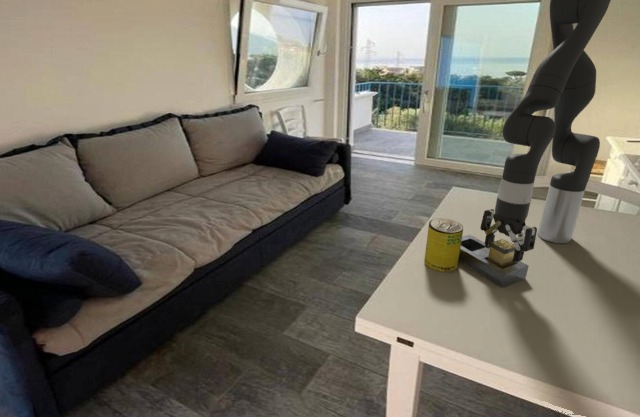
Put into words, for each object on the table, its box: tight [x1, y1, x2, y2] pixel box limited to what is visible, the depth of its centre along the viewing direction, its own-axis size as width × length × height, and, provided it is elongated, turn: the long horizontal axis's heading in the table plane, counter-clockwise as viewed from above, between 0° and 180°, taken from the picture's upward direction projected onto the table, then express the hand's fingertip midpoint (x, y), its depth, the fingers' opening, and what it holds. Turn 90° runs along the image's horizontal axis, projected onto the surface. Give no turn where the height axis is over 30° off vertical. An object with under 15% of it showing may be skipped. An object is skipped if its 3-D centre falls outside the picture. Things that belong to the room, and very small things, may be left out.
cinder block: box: [458, 234, 529, 288], centre depth 105 cm, size 9×20×4 cm, turn 26°
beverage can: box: [423, 217, 464, 273], centre depth 105 cm, size 9×9×12 cm
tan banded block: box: [488, 238, 516, 269], centre depth 100 cm, size 5×5×9 cm
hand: (501, 254), depth 100 cm, fingers open, 8 cm apart
